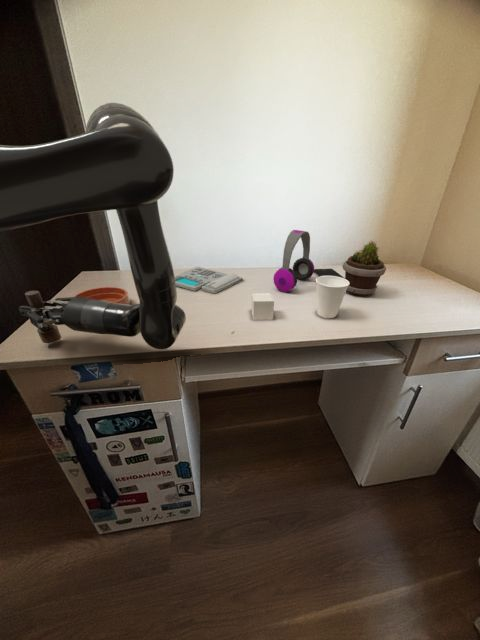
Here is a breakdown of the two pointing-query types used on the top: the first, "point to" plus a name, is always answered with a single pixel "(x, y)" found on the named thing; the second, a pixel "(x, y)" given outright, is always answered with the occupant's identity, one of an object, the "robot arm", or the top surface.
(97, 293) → the bowl
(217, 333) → the top surface
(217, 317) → the top surface
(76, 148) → the robot arm
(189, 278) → the office telephone
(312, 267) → the headphones
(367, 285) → the flowerpot
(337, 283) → the cup
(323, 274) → the cell phone
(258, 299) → the white cube
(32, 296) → the muddler
